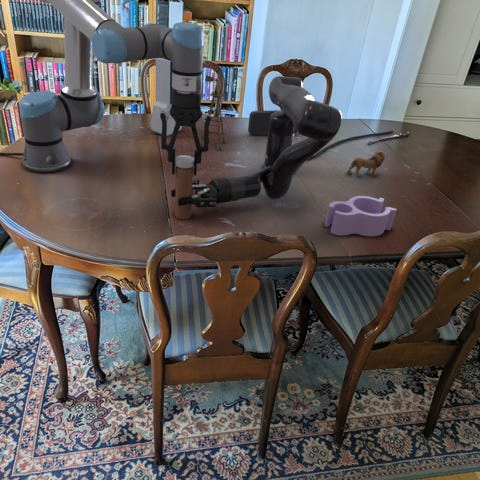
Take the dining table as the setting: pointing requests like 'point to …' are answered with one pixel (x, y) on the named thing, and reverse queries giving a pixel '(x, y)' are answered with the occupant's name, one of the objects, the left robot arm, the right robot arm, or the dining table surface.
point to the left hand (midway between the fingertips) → (184, 172)
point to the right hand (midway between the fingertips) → (175, 197)
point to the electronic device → (163, 96)
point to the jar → (183, 191)
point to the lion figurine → (368, 163)
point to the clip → (359, 216)
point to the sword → (386, 138)
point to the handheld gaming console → (260, 122)
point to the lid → (184, 161)
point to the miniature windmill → (217, 95)
